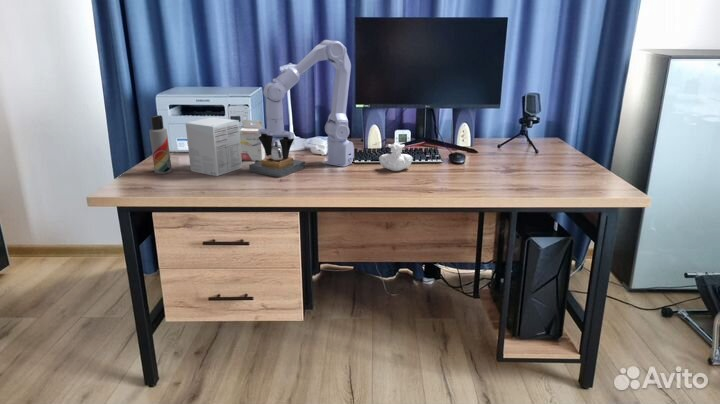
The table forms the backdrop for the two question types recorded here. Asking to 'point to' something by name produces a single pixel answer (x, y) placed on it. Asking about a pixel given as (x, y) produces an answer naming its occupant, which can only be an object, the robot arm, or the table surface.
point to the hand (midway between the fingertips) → (277, 156)
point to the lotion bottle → (160, 146)
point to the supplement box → (214, 146)
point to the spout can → (276, 153)
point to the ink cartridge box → (251, 141)
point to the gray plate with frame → (277, 167)
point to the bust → (395, 158)
